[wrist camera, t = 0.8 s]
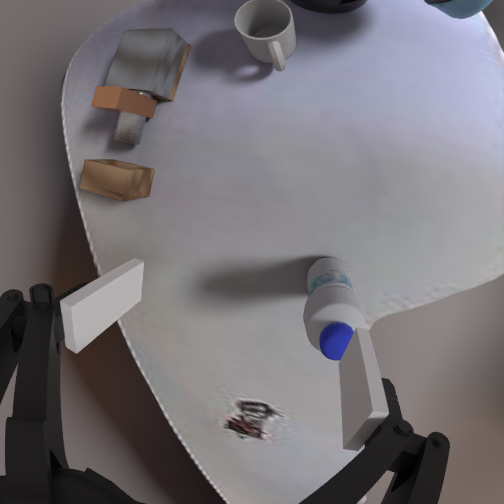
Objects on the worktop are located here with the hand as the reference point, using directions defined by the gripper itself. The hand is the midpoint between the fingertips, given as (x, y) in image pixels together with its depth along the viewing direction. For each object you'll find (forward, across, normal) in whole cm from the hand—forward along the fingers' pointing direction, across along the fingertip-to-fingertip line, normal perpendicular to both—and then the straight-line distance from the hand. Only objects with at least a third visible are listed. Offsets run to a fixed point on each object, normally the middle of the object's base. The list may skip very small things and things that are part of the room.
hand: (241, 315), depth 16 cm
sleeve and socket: (+27, -26, +12) cm, 40 cm away
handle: (+26, -26, +16) cm, 40 cm away
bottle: (+27, +8, -5) cm, 29 cm away
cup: (+28, -8, +26) cm, 38 cm away
